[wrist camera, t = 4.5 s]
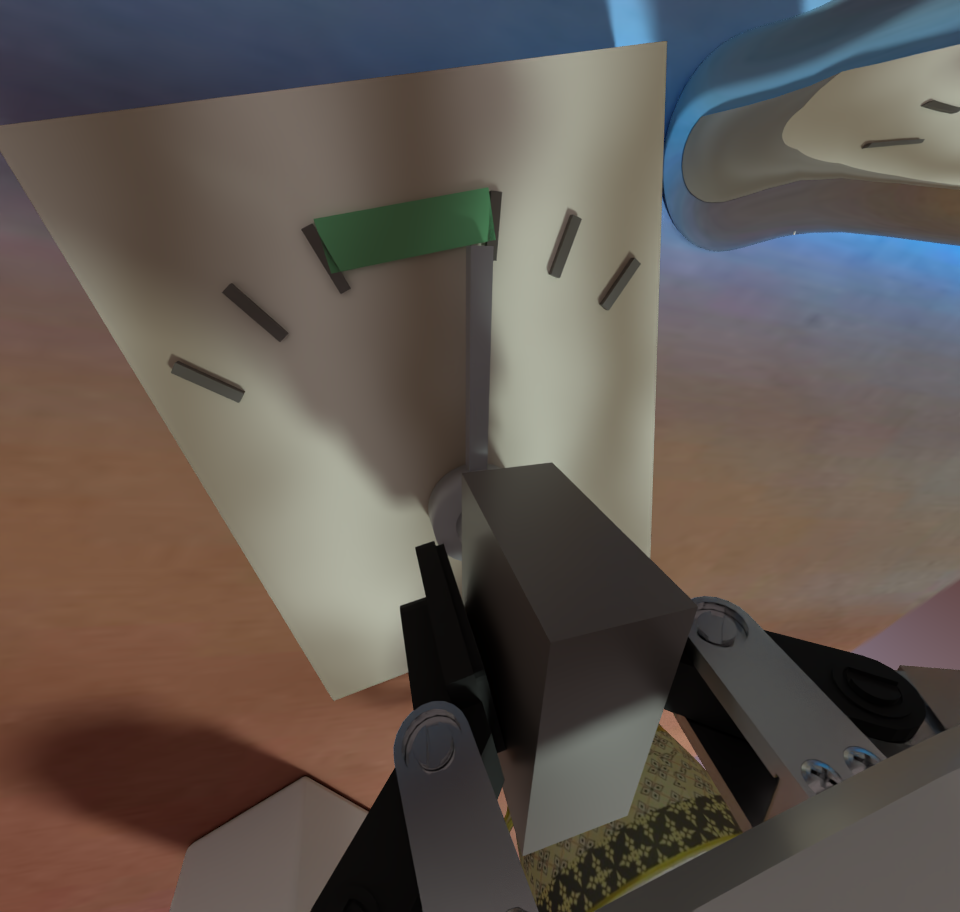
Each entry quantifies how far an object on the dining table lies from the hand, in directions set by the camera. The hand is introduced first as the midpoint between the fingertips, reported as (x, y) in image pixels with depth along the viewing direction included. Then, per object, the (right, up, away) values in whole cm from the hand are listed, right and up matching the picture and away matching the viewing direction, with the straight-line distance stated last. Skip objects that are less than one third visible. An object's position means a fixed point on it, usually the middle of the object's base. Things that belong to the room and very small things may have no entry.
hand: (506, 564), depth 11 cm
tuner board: (-2, +4, +4) cm, 6 cm away
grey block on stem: (-1, +4, +2) cm, 4 cm away
